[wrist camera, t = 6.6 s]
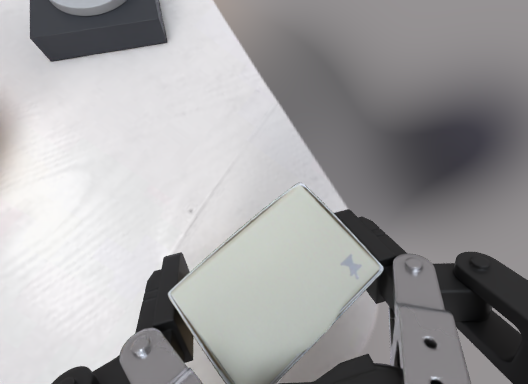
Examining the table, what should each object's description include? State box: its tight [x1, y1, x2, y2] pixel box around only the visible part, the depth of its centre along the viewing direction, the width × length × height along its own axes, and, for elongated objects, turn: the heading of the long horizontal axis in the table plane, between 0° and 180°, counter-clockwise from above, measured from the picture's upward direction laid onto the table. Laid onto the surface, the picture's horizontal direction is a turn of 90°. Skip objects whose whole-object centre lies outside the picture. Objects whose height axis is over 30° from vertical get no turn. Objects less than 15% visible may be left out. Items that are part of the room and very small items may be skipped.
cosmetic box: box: [168, 183, 383, 384], centre depth 15 cm, size 6×4×12 cm
